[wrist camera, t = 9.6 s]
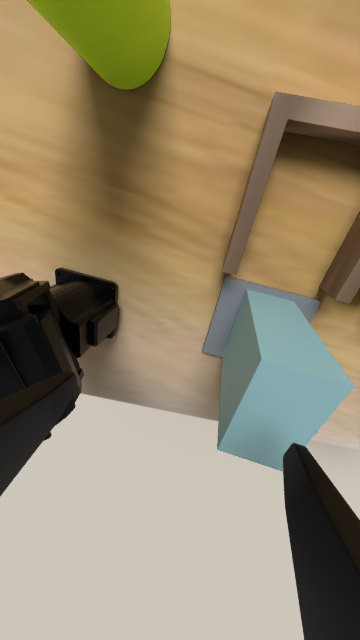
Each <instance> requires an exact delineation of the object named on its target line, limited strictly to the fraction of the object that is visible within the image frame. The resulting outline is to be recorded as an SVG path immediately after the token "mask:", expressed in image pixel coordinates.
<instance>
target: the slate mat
mask: <svg viewBox="0 0 360 640" xmlns="http://www.w3.org/2000/svg"><path fill="white" fill-rule="evenodd" d="M247 289H249V290H252V291H256V292H260V293H264V294H268V295H271V296H275V297H279V298H283V299H287V300H290V301H294V302H295V304H296V305H297V306H298V308H299V309H300V311H301V312H302V313H303V315H304V316H305V318H306V319H307V320H308V322H309V323H310V322H311V320H312V319H313V317H314V315H315V313H316V312H317V310H318V308H319V306H320V305H321V303H322V302H321V301H320V300H319V299H315V298H311V297H307V296H303V295H299V294H295V293H291V292H287V291H283V290H280V289H276V288H272V287H268V286H264V285H260V284H256V283H252V282H248V281H244V280H240V279H237V278H233V277H229V276H226V277H225V280H224V283H223V286H222V290H221V293H220V296H219V299H218V302H217V306H216V309H215V312H214V315H213V319H212V322H211V325H210V328H209V331H208V335H207V338H206V341H205V344H204V348H203V352H204V353H208V354H211V355H215V356H218V357H222V354H223V351H224V348H225V346H226V343H227V340H228V338H229V335H230V332H231V330H232V327H233V324H234V322H235V319H236V316H237V314H238V311H239V308H240V306H241V303H242V300H243V298H244V295H245V292H246V290H247Z"/></svg>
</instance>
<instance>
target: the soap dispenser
mask: <svg viewBox="0 0 360 640" xmlns="http://www.w3.org/2000/svg"><path fill="white" fill-rule="evenodd" d="M27 1H28V2H29V3H30V4H31V5H32V6H33V7H34V8H35V9H36V10H37V11H38V12H39V13H40V14H41V15H42V16H43V17H44V19H45V20H46V21H47V22H48V23H49V24H50V25H51V26H52V27H53V28H54V29H55V30H56V31H57V32H58V33H59V34H60V35H61V36H62V37H63V38H64V39H65V40H66V41H67V42H68V43H69V45H70V46H71V47H72V48H73V49H74V50H75V51H76V52H77V53H78V54H79V55H80V56H81V57H82V58H83V59H84V60H85V61H86V62H87V63H88V64H89V65H90V66H91V67H92V68H93V70H94V71H95V72H96V73H97V74H98V75H99V76H100V77H101V78H102V79H103V80H104V81H106V82H107V83H108V84H110V85H111V86H113V87H115V88H118V89H123V90H129V89H134V88H137V87H139V86H141V85H143V84H144V83H146V82H147V81H148V80H149V79H150V78H151V77H152V76H153V75H154V73H155V72H156V71H157V69H158V67H159V66H160V64H161V62H162V59H163V57H164V54H165V51H166V48H167V44H168V39H169V33H170V20H171V15H170V2H169V0H27Z"/></svg>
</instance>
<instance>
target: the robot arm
mask: <svg viewBox="0 0 360 640" xmlns="http://www.w3.org/2000/svg"><path fill="white" fill-rule="evenodd" d="M60 272H61V273H62V275H61V273H60ZM55 277H56V285H53V286H51V287H50V284H49V282H48V281H33V279H30V278H29V277H28V276H26V275H25V274H24V273H15V274H12V275H8V276H5V277H1V278H0V496H1V495H2V493H3V492H4V491H5V489H6V488H7V487H8V486H9V484H10V483H11V482H12V480H13V479H14V478H15V477H16V475H17V474H18V473H19V471H20V470H21V469H22V467H23V466H24V465H25V464H26V462H27V461H28V460H29V458H30V457H31V456H32V454H33V453H34V452H35V451H36V449H37V448H38V447H39V445H40V444H41V443H42V442H43V441H44V440H47V439H49V438H50V437H51V433H50V431H51V430H52V428H53V427H54V426H55V425H57V424H58V423H59V422H61V421H62V420H63V419H65V418H66V417H67V416H68V415H69V414H70V413H71V412H72V411H73V409H74V408H75V402H76V400H77V398H78V396H79V394H80V393H81V387H82V383H81V380H82V378H83V375H84V373H83V370H82V369H81V368H80V366H79V363H78V361H77V358H79V357H81V356H82V355H83V354H84V353H85V352H86V351H87V350H88V349H89V348H90V347H91V346H97V345H99V344H100V343H101V342H102V341H103V340H104V339H105V338H112V337H113V336H114V335H115V327H116V326H117V321H118V304H117V292H118V286H117V284H116V283H115V282H112V281H108V280H105V279H101V278H97V277H94V276H90V275H86V274H83V273H79V272H75V271H72V270H68V269H64V268H58V269H56V270H55ZM111 285H112V286H113V288H114V289H112V288H111ZM109 333H110V334H111V335H110V334H109ZM76 357H77V358H76ZM283 475H284V495H285V496H284V497H285V509H286V516H287V523H288V530H289V537H290V544H291V551H292V558H293V565H294V571H295V578H296V585H297V592H298V599H299V606H300V613H301V620H302V627H303V633H304V640H360V520H359V518H358V517H357V516H356V514H355V513H354V512H353V510H352V509H351V508H350V506H349V505H348V504H347V502H346V501H345V500H344V498H343V497H342V495H341V494H340V493H339V491H338V490H337V489H336V487H335V486H334V485H333V483H332V482H331V480H330V479H329V478H328V476H327V475H326V474H325V472H324V471H323V470H322V468H321V467H320V466H319V464H318V463H317V461H316V460H315V459H314V457H313V456H312V455H311V453H310V452H309V451H308V449H307V448H306V447H305V446H303V445H300V444H297V443H292V444H291V445H290V447H289V448H288V449H287V451H286V452H285V453H284V456H283Z"/></svg>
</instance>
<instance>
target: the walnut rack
mask: <svg viewBox="0 0 360 640" xmlns="http://www.w3.org/2000/svg"><path fill="white" fill-rule="evenodd" d="M284 131H285V132H290V133H295V134H301V135H306V136H311V137H317V138H322V139H327V140H332V141H338V142H343V143H348V144H353V145H359V146H360V106H355V105H349V104H344V103H338V102H332V101H326V100H321V99H315V98H309V97H303V96H298V95H292V94H286V93H280V92H275V95H274V97H273V100H272V103H271V105H270V108H269V112H268V115H267V118H266V122H265V125H264V128H263V132H262V135H261V138H260V142H259V145H258V149H257V152H256V155H255V159H254V162H253V165H252V169H251V172H250V176H249V179H248V182H247V186H246V189H245V192H244V196H243V199H242V203H241V206H240V209H239V213H238V216H237V219H236V223H235V226H234V229H233V233H232V236H231V240H230V243H229V246H228V250H227V253H226V256H225V260H224V263H223V271H222V272H226V273H230V274H234V275H236V273H237V270H238V267H239V264H240V261H241V258H242V255H243V252H244V249H245V246H246V243H247V240H248V237H249V234H250V231H251V228H252V225H253V222H254V219H255V216H256V213H257V210H258V207H259V204H260V201H261V198H262V195H263V192H264V189H265V186H266V183H267V180H268V177H269V174H270V171H271V168H272V165H273V162H274V159H275V156H276V153H277V150H278V147H279V144H280V141H281V138H282V135H283V132H284ZM319 287H320V288H321V289H322V290H323V291H324V292H326V293H327V294H328V295H329V296H330V297H332V298H333V299H334V300H336V301H340V302H344V303H348V304H350V302H351V301H352V299H353V297H354V296H355V294H356V293H357V291H358V290H359V288H360V212H359V214H358V216H357V218H356V220H355V221H354V223H353V225H352V227H351V229H350V231H349V233H348V234H347V236H346V238H345V240H344V242H343V244H342V246H341V247H340V249H339V251H338V253H337V255H336V257H335V259H334V260H333V262H332V264H331V266H330V268H329V270H328V271H327V273H326V275H325V277H324V279H323V281H322V283H321V284H320V286H319Z"/></svg>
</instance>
